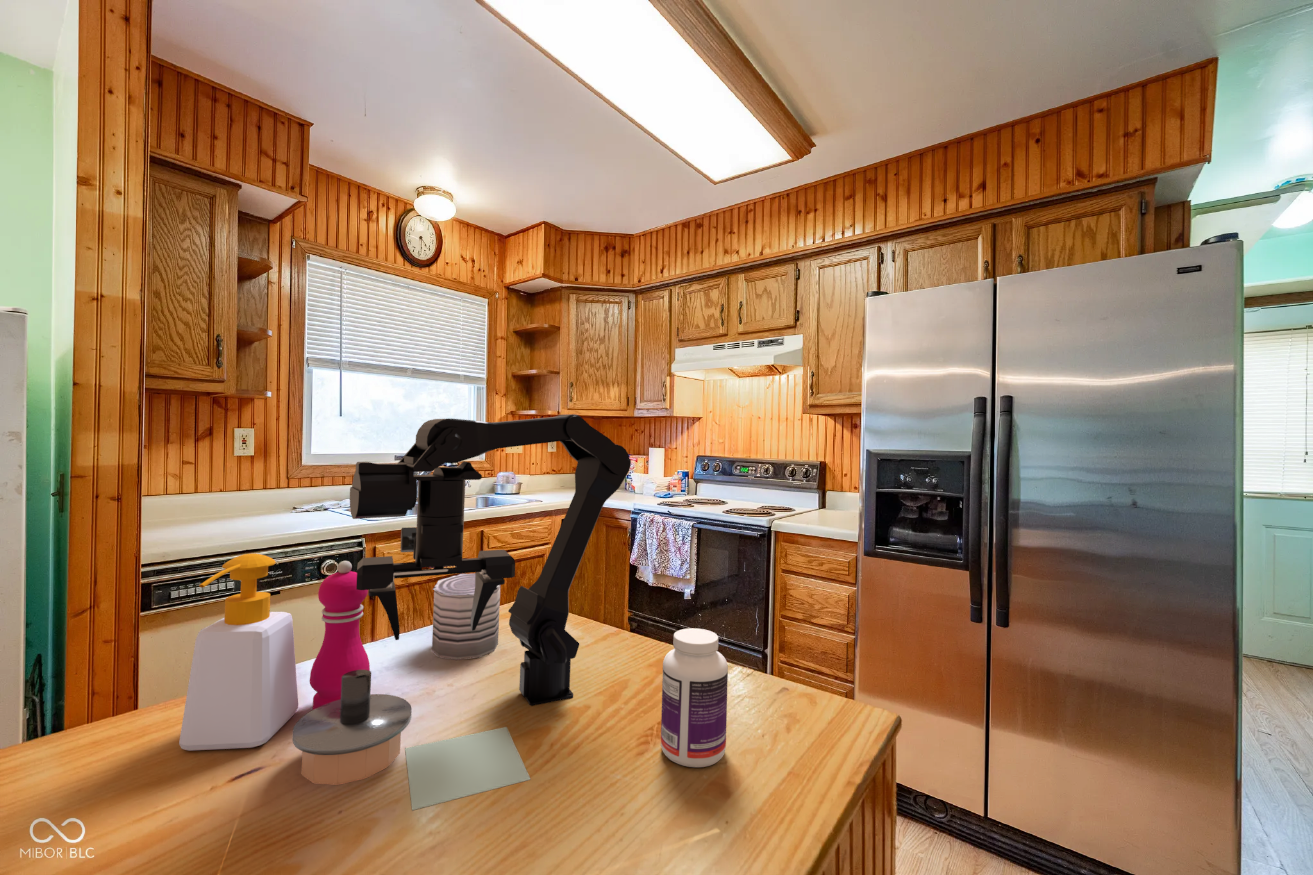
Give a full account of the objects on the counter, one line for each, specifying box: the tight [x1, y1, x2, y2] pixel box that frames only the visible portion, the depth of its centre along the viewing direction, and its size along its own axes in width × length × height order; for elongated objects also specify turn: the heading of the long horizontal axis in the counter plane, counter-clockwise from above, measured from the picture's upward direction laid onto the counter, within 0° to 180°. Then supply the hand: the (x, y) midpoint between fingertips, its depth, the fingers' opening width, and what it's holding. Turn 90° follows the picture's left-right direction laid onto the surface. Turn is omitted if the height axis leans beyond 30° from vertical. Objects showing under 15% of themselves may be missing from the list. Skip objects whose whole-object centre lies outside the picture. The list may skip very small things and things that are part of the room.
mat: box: [404, 726, 531, 812], centre depth 63 cm, size 12×12×1 cm
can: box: [431, 572, 501, 661], centre depth 97 cm, size 11×11×12 cm
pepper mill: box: [309, 560, 371, 710], centre depth 75 cm, size 7×7×20 cm
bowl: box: [300, 732, 402, 786], centre depth 63 cm, size 10×10×4 cm
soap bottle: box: [178, 552, 299, 751], centre depth 66 cm, size 10×14×22 cm
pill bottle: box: [660, 627, 729, 768], centre depth 67 cm, size 8×8×14 cm
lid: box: [292, 670, 413, 755], centre depth 63 cm, size 12×12×6 cm
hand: (436, 634), depth 71 cm, fingers open, 9 cm apart
